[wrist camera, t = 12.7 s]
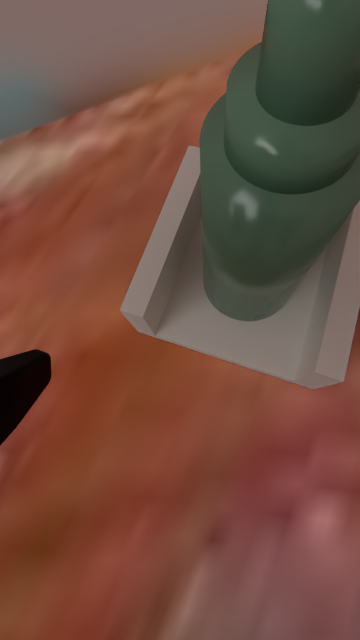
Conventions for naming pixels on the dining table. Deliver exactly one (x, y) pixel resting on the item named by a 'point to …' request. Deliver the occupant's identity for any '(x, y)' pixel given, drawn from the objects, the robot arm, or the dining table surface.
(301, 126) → the glass bottle
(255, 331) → the u rest
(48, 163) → the dining table surface
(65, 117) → the dining table surface
